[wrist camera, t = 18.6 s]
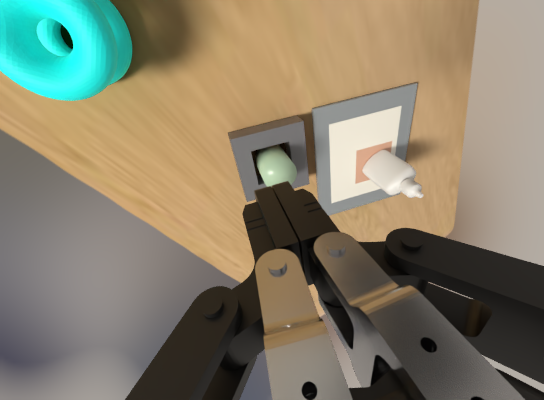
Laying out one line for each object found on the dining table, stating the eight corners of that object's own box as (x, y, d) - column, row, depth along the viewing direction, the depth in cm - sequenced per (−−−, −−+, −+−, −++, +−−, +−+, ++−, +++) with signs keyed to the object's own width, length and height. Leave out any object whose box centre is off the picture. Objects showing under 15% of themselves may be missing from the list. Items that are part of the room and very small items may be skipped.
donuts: (116, -7, 20) (109, 117, 24) (138, 4, 28) (130, 96, 33) (-64, -81, 16) (-33, 81, 21) (22, -44, 24) (31, 67, 29)
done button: (252, 148, 40) (260, 164, 35) (282, 140, 40) (294, 155, 35) (258, 175, 42) (266, 194, 38) (286, 167, 43) (298, 185, 38)
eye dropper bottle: (388, 166, 49) (437, 200, 39) (361, 177, 49) (403, 214, 39) (388, 146, 46) (439, 177, 36) (359, 158, 46) (404, 192, 36)
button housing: (227, 132, 38) (230, 139, 36) (296, 115, 39) (303, 120, 37) (244, 192, 45) (247, 201, 42) (303, 175, 46) (309, 184, 43)
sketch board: (311, 108, 39) (313, 109, 39) (415, 82, 41) (418, 83, 41) (319, 216, 52) (320, 218, 52) (397, 192, 54) (400, 194, 54)
